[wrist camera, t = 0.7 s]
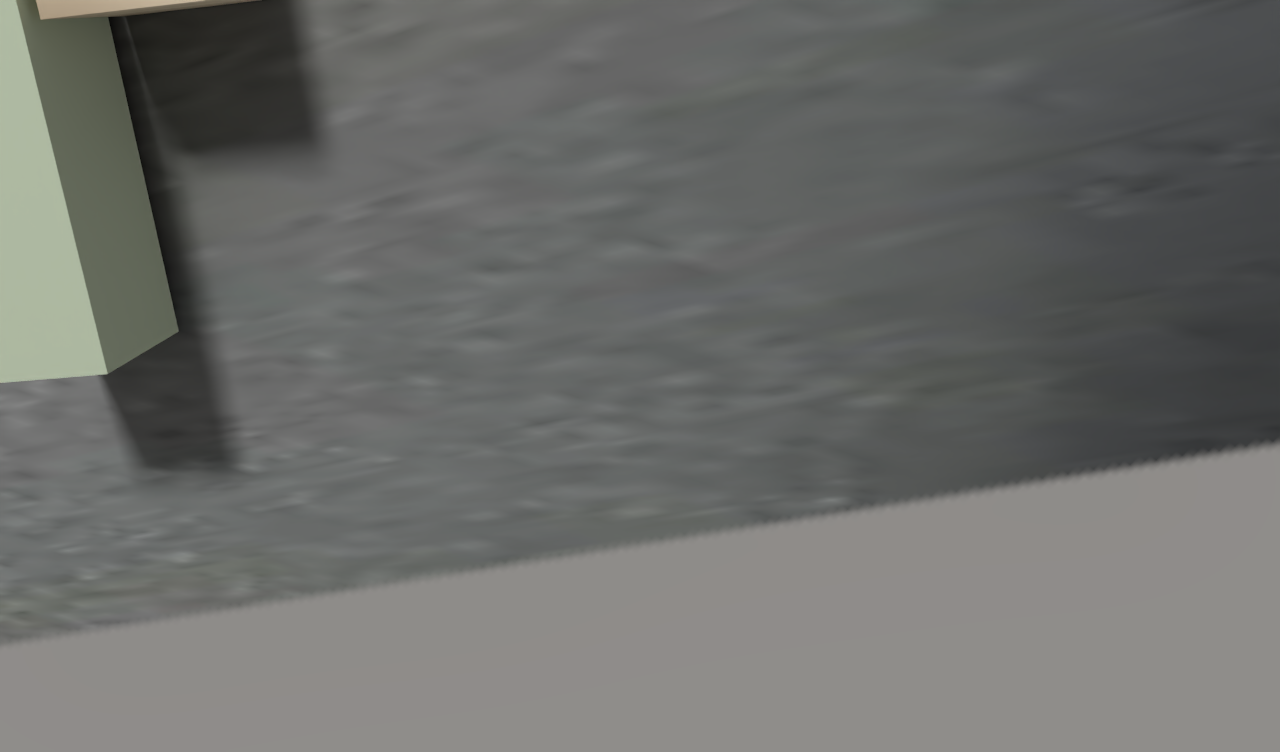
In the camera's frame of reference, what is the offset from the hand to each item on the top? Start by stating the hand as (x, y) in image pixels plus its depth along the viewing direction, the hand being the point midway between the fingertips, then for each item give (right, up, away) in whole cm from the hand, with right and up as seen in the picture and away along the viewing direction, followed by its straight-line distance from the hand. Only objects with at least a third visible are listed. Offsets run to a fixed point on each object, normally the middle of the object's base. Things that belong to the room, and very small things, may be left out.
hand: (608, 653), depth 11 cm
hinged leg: (-15, +10, +21) cm, 28 cm away
